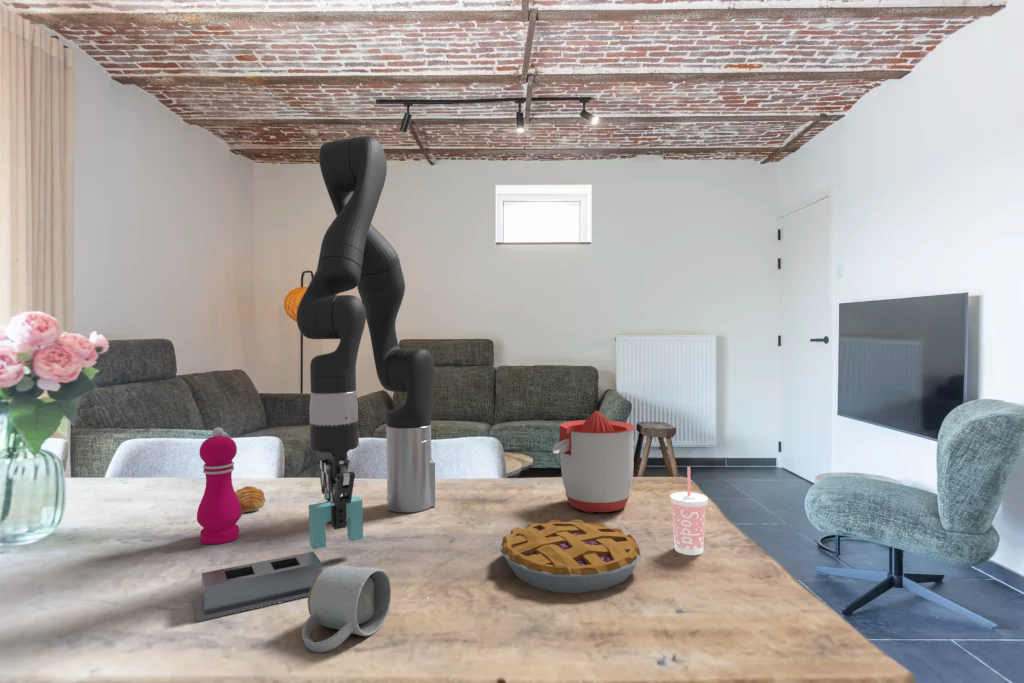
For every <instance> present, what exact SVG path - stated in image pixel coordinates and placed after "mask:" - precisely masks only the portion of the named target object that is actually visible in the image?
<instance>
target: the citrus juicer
mask: <svg viewBox="0 0 1024 683" xmlns="http://www.w3.org/2000/svg"><path fill="white" fill-rule="evenodd" d="M635 428H636V426H635V425H634V424H632V423H630V422H623V421H617V420H608V419H607V417H605V415H604V414H602V412H600V411H599V410H595V411H594V412H593V413H591V414H590V415H589V417H587V419H580V420H571V421H570V420H569V421H565V422H563V423H560V425H559V441H557V442H556V443H555V444H553V446H552V453H553V454H554V455H559V454H560V467H561V468H560V470H561V478H562V484H563V487H564V491H565V496H566V498H567V501H568V504H569V505H570V506H571V507H572V508H575V509H576V510H579V511H584V513H586V514H587V513H588V514H592V513H594V512H595V513H609V512H615V511H616V512H617V511H620V510H623V509H624V508H625V507H626V504H627V502H628V500H629V497H630V492H631V488H632V485H633V479H634V464H635V463H634V429H635Z"/></svg>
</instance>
